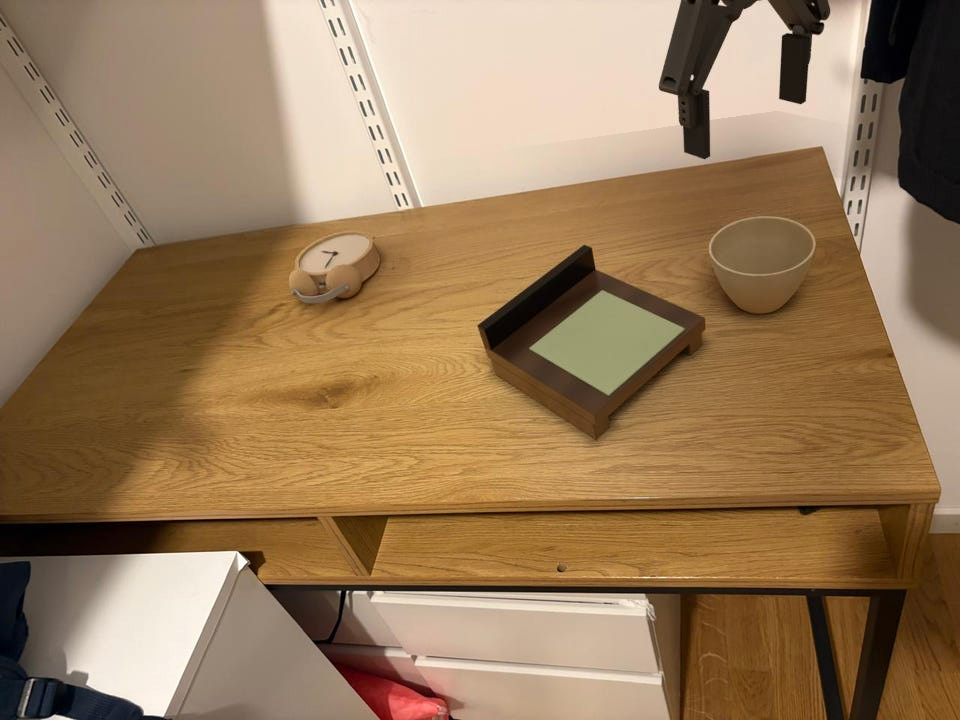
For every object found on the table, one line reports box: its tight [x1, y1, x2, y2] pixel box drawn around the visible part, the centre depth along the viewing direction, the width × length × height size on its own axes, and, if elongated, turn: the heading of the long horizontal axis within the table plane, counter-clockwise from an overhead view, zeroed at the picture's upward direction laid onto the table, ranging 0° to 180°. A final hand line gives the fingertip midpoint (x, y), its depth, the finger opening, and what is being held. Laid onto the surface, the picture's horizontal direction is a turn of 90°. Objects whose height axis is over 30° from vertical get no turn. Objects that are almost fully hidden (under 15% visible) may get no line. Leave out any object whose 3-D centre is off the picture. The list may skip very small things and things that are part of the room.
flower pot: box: [708, 215, 817, 315], centre depth 77 cm, size 10×10×7 cm
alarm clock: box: [288, 229, 381, 304], centre depth 101 cm, size 11×5×15 cm
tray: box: [476, 244, 707, 440], centre depth 76 cm, size 16×16×7 cm
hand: (745, 127), depth 75 cm, fingers open, 13 cm apart
